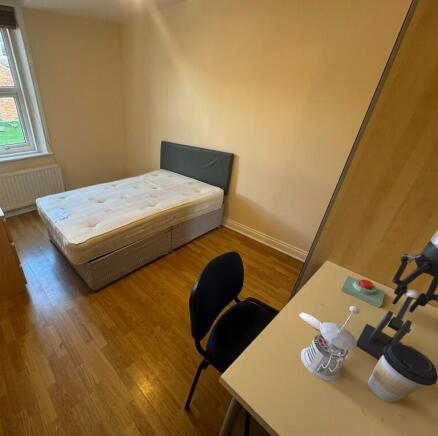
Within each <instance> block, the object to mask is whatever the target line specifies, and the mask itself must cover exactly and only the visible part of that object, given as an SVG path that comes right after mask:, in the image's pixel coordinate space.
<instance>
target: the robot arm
mask: <svg viewBox="0 0 438 436" xmlns="http://www.w3.org/2000/svg"><path fill="white" fill-rule="evenodd" d="M413 261H414V263H415V264H416V268H415V269H414V270H413V271H411V273H409V274H408V275H407V276H406V277H404V278H403V279H401V277H402V276H403V274H404V272H405V270H406V268H407V266H408V264H410V263H412V262H413ZM400 262H401V263H400V265H399V267H398V269H397V270H396V273H395V275H394V277H393V278H392V280H391V282H392V283H393V284H395V285H397V286H396V288H395V289H394V291H393V295H396V296H395V297H394V298H393V300H392V303H391V304H392V305H394V306H396V305H397V303H398V302H399V301H400V299H401V298H402V297H403V295H405V294H404V293H405V292H406V290H407V289H408V286H409V284H411V283H412V282H413V281H414V280H416V279H417V278H418V277H420V276H421V275H423V274H427V275H430V276H431V277H432V280H431V282H430V284H429V286H428V289H427V291H426V293H423V292H422V293H420V297H419V298H418V299H416V300H415V301H414V302H413V303H412V304H411V305H410V306H409V310H408V313H410V314H413V313H414V311H415V310H417V308H418V307H419V306H420V307H426V305H427V304H428V303H429V302H431V301H435V302H436V303H438V293H437V294H435V293H436V290H437V288H438V229H437V230H436V232H434V234H433V236H432V237H431V239H430V241H428V242H427V244H426V245H425V246H424V248H423V249H422V250H421V252H420V253H418V254H415V255H409V254H408V253H403V254H402V255H401V257H400Z"/></svg>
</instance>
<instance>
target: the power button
mask: <svg viewBox="0 0 438 436" xmlns="http://www.w3.org/2000/svg"><path fill="white" fill-rule="evenodd" d="M373 285H374V283H373V282H372V281H371V280H368V279H361V282H360V286H362V287H363V288H365V289H371V288H372V287H373Z"/></svg>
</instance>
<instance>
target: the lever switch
mask: <svg viewBox="0 0 438 436" xmlns="http://www.w3.org/2000/svg"><path fill="white" fill-rule="evenodd" d="M403 295H404V296H405V297H406V299H405V300H404V302H403V304H402V305H401V306H400V309H399V310H398V312H397V315H396V316H392V317H391V320H390V321H389V323H388V324H387V328H389V329H391V330H394V331H395V332H397V331H398V330H399V329H400V328H401V327H402V325H403V324H404V323H405V321H404V320H403V318H404V316H405V314H406V313H407V311H408V308H410V306H411V303H412V302H413V300H415V301H416V300H417V299H418V298H419V297H420V295H421V293H420V292H419V291H418V289H415V288H407V290H406V292H405V293H404V294H403Z"/></svg>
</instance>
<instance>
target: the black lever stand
mask: <svg viewBox="0 0 438 436" xmlns="http://www.w3.org/2000/svg"><path fill="white" fill-rule="evenodd" d="M393 315H394V312H393V311H391V310H388V311H387V313H386V314H384V315H382V316H381V318H380V322H379V323H378V324H377V325H376V326H375V327H374V326H372V325H371V324H368V323H366V324H365V326H364V327H363V329H362V331H361V333H360V335H359V336H358V338H357V340H356V342H357V345H356V348H359V349H360V350H362V351H363V352H365V353H366V354H368V355H370V356H371V357H373V358H374V359H376V360H378V361H379V360H380V358H381V356H382V355H383V348H384V347H385V346H387V345H389V344H403V345H404V343H403V342H401V340H402V339H403V338H404V337H405V336H406V335H407V334H410V332H411V331H412V328H411V326H412V323H413V321H411V320H409V319H407V320H405V321H404V323H403V325H402V327H401V328H400V329H399V330H398V331H395V333H394V335H393V336H390V335H388V334H387V333H385V332H383V330H384V329H385V328H386V326H388V324H389V322H390V320H391V319H392V318H393Z"/></svg>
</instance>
